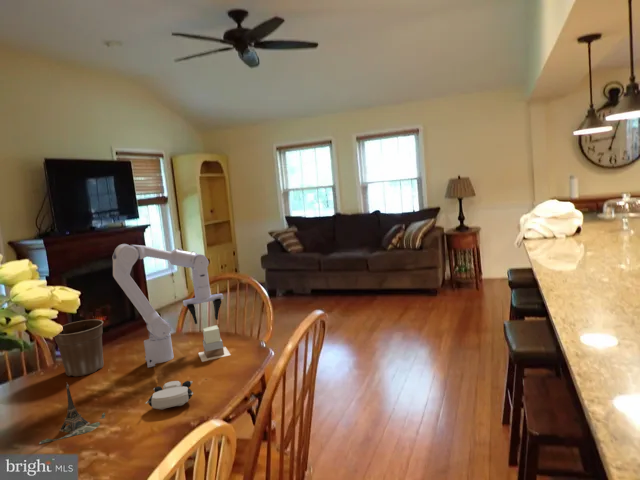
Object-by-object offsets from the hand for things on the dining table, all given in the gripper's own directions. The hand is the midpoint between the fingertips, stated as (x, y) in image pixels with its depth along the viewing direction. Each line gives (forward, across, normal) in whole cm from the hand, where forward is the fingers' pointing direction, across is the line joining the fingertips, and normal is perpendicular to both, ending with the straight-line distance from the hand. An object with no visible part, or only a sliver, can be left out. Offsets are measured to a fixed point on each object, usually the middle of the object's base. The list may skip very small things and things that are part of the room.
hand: (206, 321), depth 174 cm
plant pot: (+11, -43, +6) cm, 45 cm away
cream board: (+10, 0, -10) cm, 14 cm away
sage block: (+5, 0, -10) cm, 11 cm away
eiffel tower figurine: (+11, -42, -40) cm, 59 cm away
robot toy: (+11, -17, -39) cm, 44 cm away
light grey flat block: (+7, 0, -10) cm, 12 cm away
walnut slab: (+10, 0, -10) cm, 14 cm away
